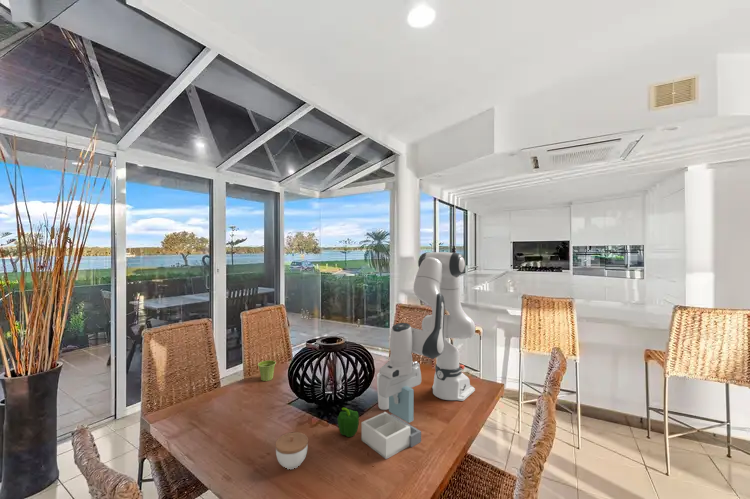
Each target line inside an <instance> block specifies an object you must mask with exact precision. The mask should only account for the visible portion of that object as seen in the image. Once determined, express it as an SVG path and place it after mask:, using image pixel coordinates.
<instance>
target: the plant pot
mask: <svg viewBox="0 0 750 499" xmlns="http://www.w3.org/2000/svg"><path fill="white" fill-rule="evenodd" d="M276 364H277V362H276V361H275V360H270V359H269V360H262V361H259V362H258V363H257V367H258V368H259V373H260V380H261V381H263V382H264V381H266V382H270V381H272V379H273V378H274V373H275V372H274V371H275V366H276Z"/></svg>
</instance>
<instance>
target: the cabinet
mask: <svg viewBox="0 0 750 499" xmlns="http://www.w3.org/2000/svg"><path fill="white" fill-rule="evenodd" d="M361 441H362V442H363V443H364V444H366V445H367V446H368V447H369V448H370V449H372V450H373V451H375V452H376V453H378V455H380V456H381V457H382V458H383V459H385V460H388V459H390V458H391V457H393V456H395V455H396V454H398V453H400V452H401V451H403V450H406V449H407V448H409V447H410V448H413V447H415V446H416V445H418V444H420V443H422V431H421V430H420V429H418V428H417V427H415V426H413V425H412V424H410V423H408V422H406V421H404V420H403V419H401V418H399V417H398V416H396V415H394V414H392V413H388V412H386V411H384V412H381V413H379V414H377V415H375V416H373V417H371V418H368V419H365V420H364V421H361Z"/></svg>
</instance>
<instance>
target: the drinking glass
mask: <svg viewBox="0 0 750 499" xmlns="http://www.w3.org/2000/svg"><path fill="white" fill-rule="evenodd" d="M381 375H382V374H380V373H379V372H378V373H377V374H376V389H377V390H376V391H377V401H378V405H377V406H378V408H379V409H380V410H382V411H386V410H389V397H387V398H384V397H382V396H381V395H380V394H379V391H378V386H379V378H380V376H381Z"/></svg>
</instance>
